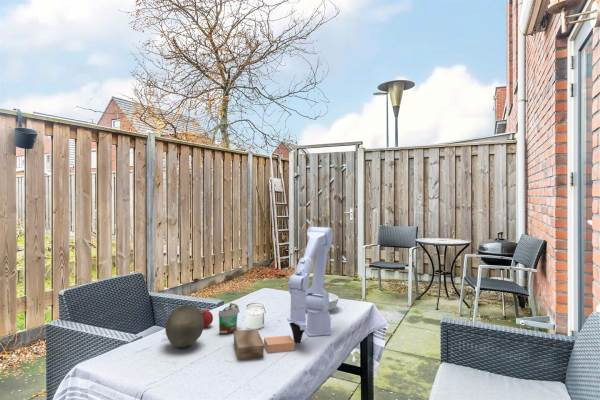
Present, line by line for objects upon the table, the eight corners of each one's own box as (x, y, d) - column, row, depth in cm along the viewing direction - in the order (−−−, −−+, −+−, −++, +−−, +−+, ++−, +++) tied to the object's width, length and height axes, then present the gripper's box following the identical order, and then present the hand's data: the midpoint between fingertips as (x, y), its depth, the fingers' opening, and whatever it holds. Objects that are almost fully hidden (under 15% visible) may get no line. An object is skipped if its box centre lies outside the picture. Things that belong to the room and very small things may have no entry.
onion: (205, 330, 150) (205, 311, 150) (195, 327, 153) (196, 309, 153) (215, 326, 155) (216, 308, 155) (206, 324, 158) (206, 305, 158)
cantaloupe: (155, 350, 130) (156, 308, 130) (182, 337, 143) (182, 299, 143) (187, 357, 124) (188, 314, 124) (212, 343, 138) (212, 303, 138)
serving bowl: (340, 316, 172) (340, 302, 172) (296, 315, 172) (296, 301, 172) (336, 304, 193) (336, 291, 193) (297, 303, 193) (297, 290, 193)
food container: (232, 337, 143) (232, 312, 143) (217, 336, 145) (218, 311, 145) (243, 327, 156) (243, 303, 156) (229, 325, 157) (230, 302, 157)
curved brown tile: (256, 341, 140) (257, 329, 140) (264, 359, 125) (264, 345, 125) (233, 343, 138) (233, 330, 138) (238, 361, 122) (238, 347, 122)
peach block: (289, 343, 139) (289, 335, 139) (294, 350, 132) (294, 342, 132) (264, 345, 136) (264, 337, 136) (267, 353, 130) (267, 344, 130)
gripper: (283, 301, 142) (282, 336, 142) (292, 313, 128) (292, 351, 128) (300, 300, 144) (299, 334, 144) (311, 311, 130) (310, 349, 130)
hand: (297, 342), depth 136 cm, fingers closed
